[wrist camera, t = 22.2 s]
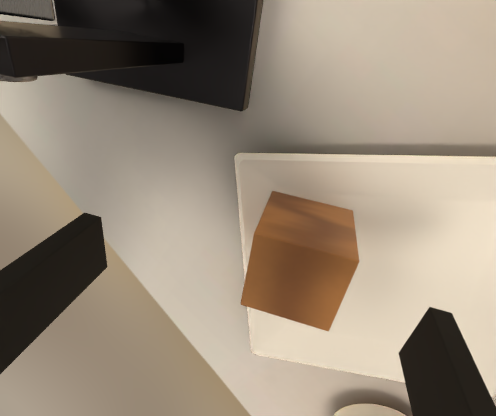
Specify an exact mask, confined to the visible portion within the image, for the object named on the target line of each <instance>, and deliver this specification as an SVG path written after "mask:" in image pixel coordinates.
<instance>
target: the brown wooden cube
mask: <svg viewBox="0 0 496 416" xmlns="http://www.w3.org/2000/svg"><path fill="white" fill-rule="evenodd" d="M358 264H359V254H358V246H357V238H356V230H355V222H354V214H353V210H349V209H345V208H341V207H337V206H333V205H329V204H325V203H321V202H317V201H313V200H309V199H304V198H300V197H296V196H292V195H288V194H284V193H280V192H276V191H272V192H271V195H270V197H269V199H268V202H267V204H266V206H265V209H264V211H263V213H262V216H261V218H260V220H259V223H258V225H257V228H256V230H255V232H254V236H253V241H252V246H251V252H250V257H249V262H248V267H247V272H246V278H245V283H244V288H243V293H242V298H241V305H243V306H247V307H250V308H253V309H256V310H260V311H263V312H266V313H269V314H273V315H276V316H279V317H283V318H286V319H289V320H292V321H296V322H299V323H302V324H305V325H309V326H312V327H315V328H318V329H322V330H325V331H329V330H330V328H331V325H332V323H333V321H334V319H335V316H336V314H337V312H338V309H339V307H340V305H341V303H342V300H343V298H344V296H345V294H346V291H347V289H348V287H349V284H350V282H351V280H352V278H353V275H354V273H355V271H356V269H357V266H358Z"/></svg>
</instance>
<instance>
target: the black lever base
mask: <svg viewBox="0 0 496 416" xmlns="http://www.w3.org/2000/svg"><path fill="white" fill-rule="evenodd" d="M54 3H55V10H56V16H57V23H58V26H55V25H43V24H32V23H20V22H8V21H0V81H8V82H29V81H34V80H37V76H45V75H56V74H66V75H71V76H75V77H80V78H85V79H90V80H94V81H99V82H104V83H109V84H113V85H118V86H123V87H128V88H133V89H137V90H142V91H147V92H152V93H156V94H161V95H166V96H171V97H175V98H180V99H185V100H190V101H195V102H199V103H204V104H209V105H214V106H218V107H223V108H228V109H233V110H238V111H244V110H245V109H246V108H248V103H249V96H250V89H251V82H252V75H253V68H254V61H255V53H256V46H257V39H258V32H259V25H260V18H261V11H262V4H263V0H54Z"/></svg>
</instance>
